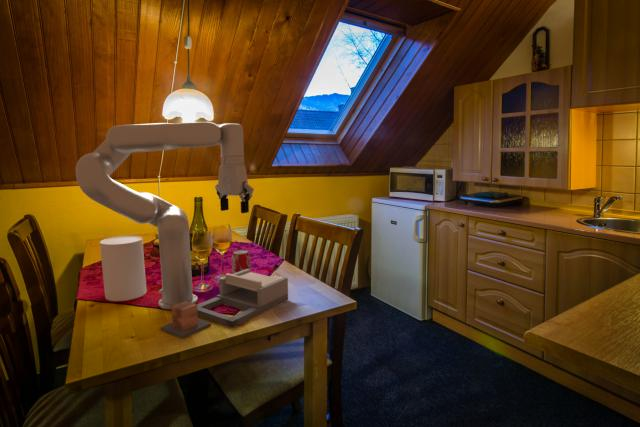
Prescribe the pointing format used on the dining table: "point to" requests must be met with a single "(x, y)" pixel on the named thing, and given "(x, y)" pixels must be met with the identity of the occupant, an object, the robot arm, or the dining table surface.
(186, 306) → the block
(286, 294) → the gray box frame
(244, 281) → the sliding lid
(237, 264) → the soda can
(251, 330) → the dining table surface
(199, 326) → the mat
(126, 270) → the canister
